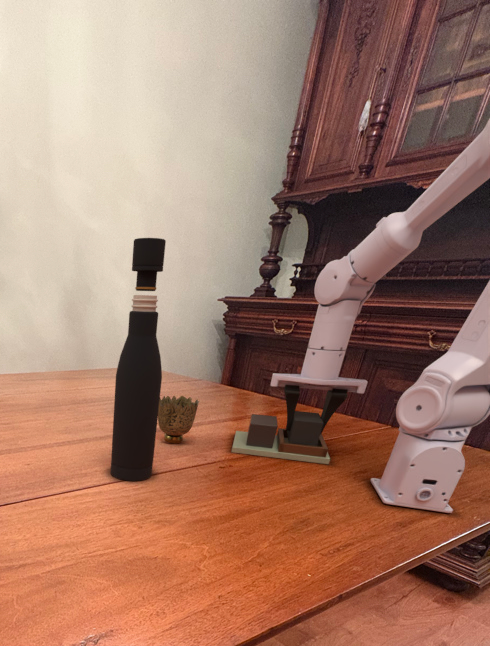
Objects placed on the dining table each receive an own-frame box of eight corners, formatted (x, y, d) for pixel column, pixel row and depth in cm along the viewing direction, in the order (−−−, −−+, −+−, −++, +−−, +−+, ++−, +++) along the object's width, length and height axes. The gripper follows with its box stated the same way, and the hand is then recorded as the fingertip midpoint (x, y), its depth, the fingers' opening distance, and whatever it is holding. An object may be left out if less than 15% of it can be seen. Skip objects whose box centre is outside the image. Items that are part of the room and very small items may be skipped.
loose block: (316, 446, 73) (323, 423, 71) (288, 443, 75) (294, 420, 73) (312, 434, 80) (318, 413, 78) (286, 431, 81) (292, 410, 79)
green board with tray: (328, 464, 72) (338, 435, 70) (231, 452, 77) (236, 424, 74) (321, 445, 82) (329, 419, 80) (235, 435, 87) (240, 410, 84)
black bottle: (150, 483, 63) (176, 236, 48) (107, 479, 64) (120, 236, 49) (152, 468, 68) (176, 242, 54) (113, 465, 69) (126, 242, 55)
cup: (146, 438, 83) (150, 396, 79) (177, 434, 86) (182, 394, 82) (168, 449, 77) (173, 404, 73) (200, 445, 80) (207, 401, 76)
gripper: (371, 349, 71) (344, 430, 78) (278, 344, 75) (261, 421, 82) (380, 353, 65) (351, 440, 72) (279, 348, 69) (260, 430, 76)
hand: (303, 431), depth 77 cm, fingers closed on loose block, 4 cm apart
